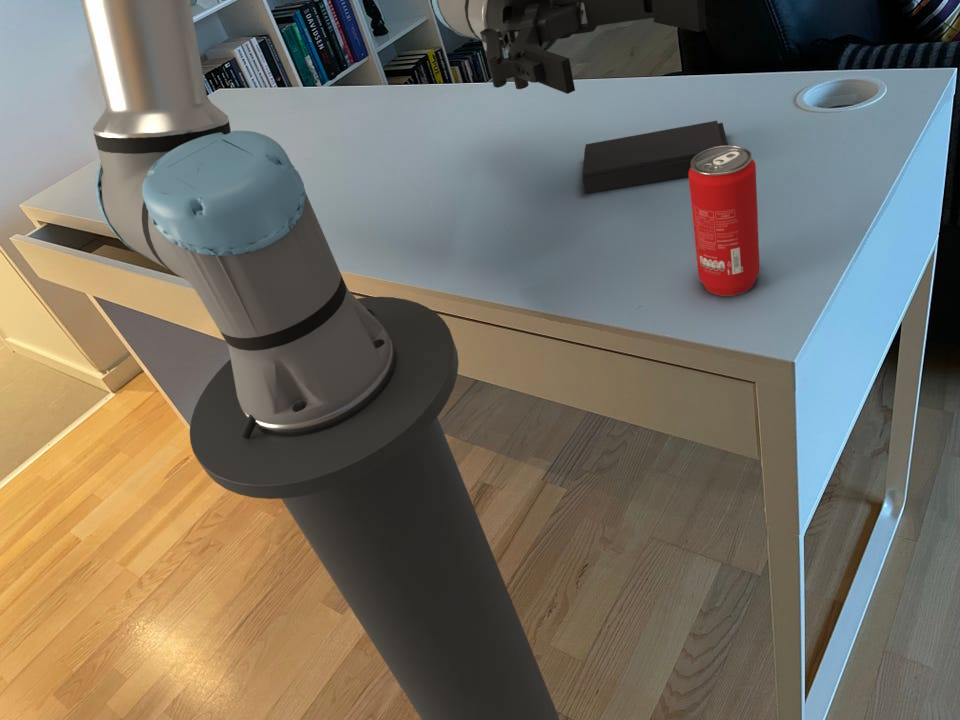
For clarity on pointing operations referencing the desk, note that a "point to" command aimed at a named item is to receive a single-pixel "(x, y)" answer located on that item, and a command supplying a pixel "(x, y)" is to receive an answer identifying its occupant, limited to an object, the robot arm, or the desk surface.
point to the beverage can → (725, 219)
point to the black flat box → (647, 156)
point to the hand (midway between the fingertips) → (636, 44)
